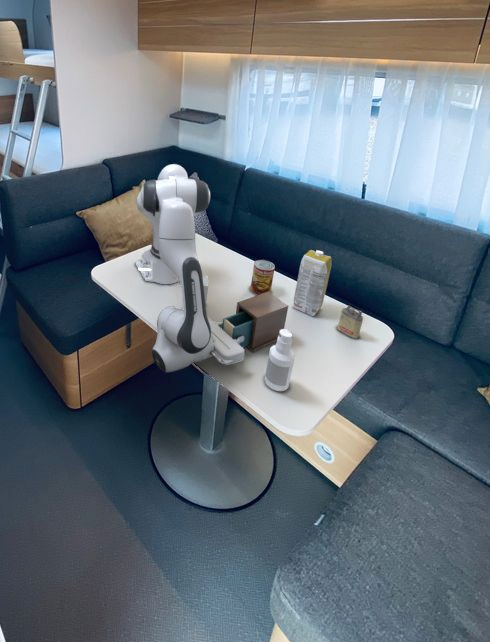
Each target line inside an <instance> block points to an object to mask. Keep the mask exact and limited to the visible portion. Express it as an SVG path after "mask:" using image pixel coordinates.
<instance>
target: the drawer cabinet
mask: <svg viewBox="0 0 490 642" xmlns="http://www.w3.org/2000/svg"><path fill="white" fill-rule="evenodd" d="M235 308H236V309H235V314H237V313H240V312H243V311H246V312H247V313H248V314H249V315H251V316H252V317H253V318H254V322H253V329H252V335H251V341H250V344H249V345H246V346H245V347H246V348H248V349H249V350H250V351H251V352H255V351H257V350H259V349H262V348H264V347H266V346H269V345H271V344H274V343H277V339H278V336H279V333H280V330H281V329H285V326H286V322H287V321H286V320H287V315H288V311H289V305H288V304H286V303H285V302H284V301H282V300H281V299H279V298H278V297H277V296H275V295H273V293H269V292H266V293H263V294H260V295H254V296H251V297H249V298H245V299H243V300H239V301H237V302H236V307H235Z"/></svg>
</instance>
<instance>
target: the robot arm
mask: <svg viewBox="0 0 490 642" xmlns="http://www.w3.org/2000/svg"><path fill="white" fill-rule="evenodd" d="M210 202H211V190H210V187H209V185H208V184H207V183H206V182H205V181H204V180H200V179H197V178H196V177H194V178H189V176H188V172H187V171H186V169H185V168H184V167H182V165H180V164H177V163H173V164H167V165H166V166H165V167H163V168H162V169H161V171H160V172H159V174H158V176H157V180H156V179H149V180H147V181H145V182H144V183H143V186H142V187H141V190H140V192H139V193H138V195H137V197H136V208H137V209H138V211H139V212H140V213H141V214H142V215H143V216H144V217H145V218H146V219H147V220H148V221H149V223H150V225H151V227H152V237H153V238H152V242H151V243H150V244H149V245H150V246H151V247H150V249H148V250H145V251H144V252H143V253H142V254H141V258H140V259H138V260H137V261H136V262H135V266H136V268H137V269H138V271H139V273H140V274H141V276H142V277H143V279H144V281H146V282H151V283H156V284H161V285H172V284H175V283H178V282H179V285H180V287H181V294H182V305H183V307H182V308H183V309H182V308H180V307H177V306H175V305H169V306H167V307H165V308H164V309H162V311H160V313H159V314H158V316H157V321H156V326H157V335H156V340H155V342H154V343H155V344H154V345H153V347H152V349H151V356H152V359H153V362H154V364H155V365H156V366H157V368H158V369H159V370H161V371H162V372H164V373H173V372H178V371H180V370H183V369H185V368H187V367H189V366H190V365H192V364H194V363H200V362H202V361H204V360H208V359H210V358H214V360H216V362H217V363H219V364H220V365H221V364H222V365H224V366H228V365H233V364H237V363H240V362H242V361H243V360H244V358H245V353H246V352H245V351H246V350H245V349H244V347H241V346H240V345H239V344H240V342H243V341H244V337H243V336H242V335H241V334H240V335H238V336H237V340H236V339H234V340H233V339H232V338H231V337H230V336H229V335H228V334H227V333H226V332H225V331H223V330H222V323H223V322H219V321H216V322H215V321H213V319H211V318H210V317H209V316H208V315H207V305H206V306H205V295H204V285H203V276H204V275H203V271H202V267H201V264H200V262H199V259H198V254H197V246H196V224H195V216H197V215H198V214H199V213H201V212H202V213H203V212H205V211H206V210H207V209H208V207H209V204H210ZM202 275H203V276H202Z"/></svg>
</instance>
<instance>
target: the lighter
mask: <svg viewBox="0 0 490 642" xmlns="http://www.w3.org/2000/svg"><path fill="white" fill-rule="evenodd" d="M362 314H363V311H362V310H358V309H357V308H354V307H352V306H351V305H350V304H349V305H347V307H343V308H342V309H341V312H340V316H339V321H338V324H337V327H336V328H337V330H338V331H339V332H340V333H342V334H344V335H346V336H348V337H350V338H351V339H358V338H360V337H359V335H360V332H361V329H362V325H363V322H364V321H363V320H364V316H363V315H362Z"/></svg>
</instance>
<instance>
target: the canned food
mask: <svg viewBox="0 0 490 642" xmlns="http://www.w3.org/2000/svg"><path fill="white" fill-rule="evenodd" d="M275 269H276V267H275V264H274V263H273V262H271V261H269V260H265V259H257V260H255V261H254V262H253V268H252V276H251V283H250V291H251V293H252V294H254V295H255V296H257V295H260V294H263V293H266V292H269V293H271V292H272V286H273V282H274V281H273V280H274V276H275V275H274V273H275ZM271 294H272V293H271Z"/></svg>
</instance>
